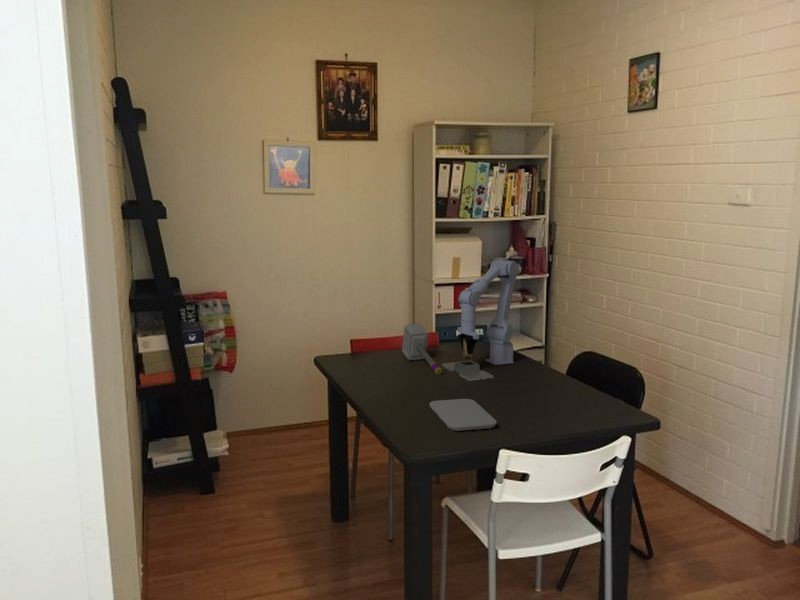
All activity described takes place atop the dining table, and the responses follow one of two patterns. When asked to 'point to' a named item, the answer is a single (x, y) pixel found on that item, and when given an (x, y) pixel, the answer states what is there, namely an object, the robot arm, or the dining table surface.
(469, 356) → the hinge pin
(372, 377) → the dining table surface
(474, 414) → the tablet
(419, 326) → the hammer
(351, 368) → the dining table surface
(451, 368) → the hinge base
